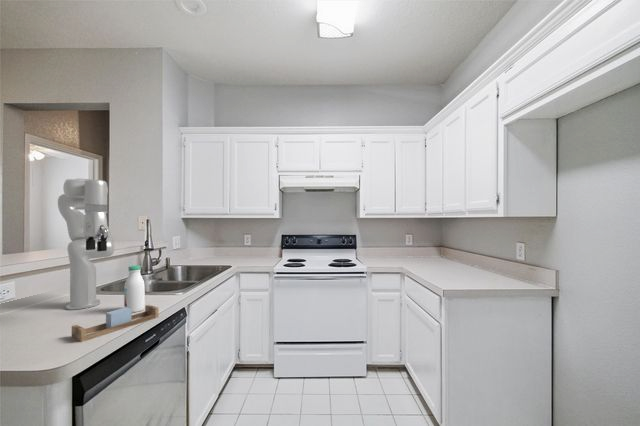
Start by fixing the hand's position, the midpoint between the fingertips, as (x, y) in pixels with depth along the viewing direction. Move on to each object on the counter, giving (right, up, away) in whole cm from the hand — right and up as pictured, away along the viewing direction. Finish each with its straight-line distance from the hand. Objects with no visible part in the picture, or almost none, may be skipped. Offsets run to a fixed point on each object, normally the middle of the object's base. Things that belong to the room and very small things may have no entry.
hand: (96, 250), depth 118 cm
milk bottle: (+10, -29, +9) cm, 32 cm away
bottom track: (+16, -28, -9) cm, 34 cm away
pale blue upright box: (+16, -28, -9) cm, 34 cm away
